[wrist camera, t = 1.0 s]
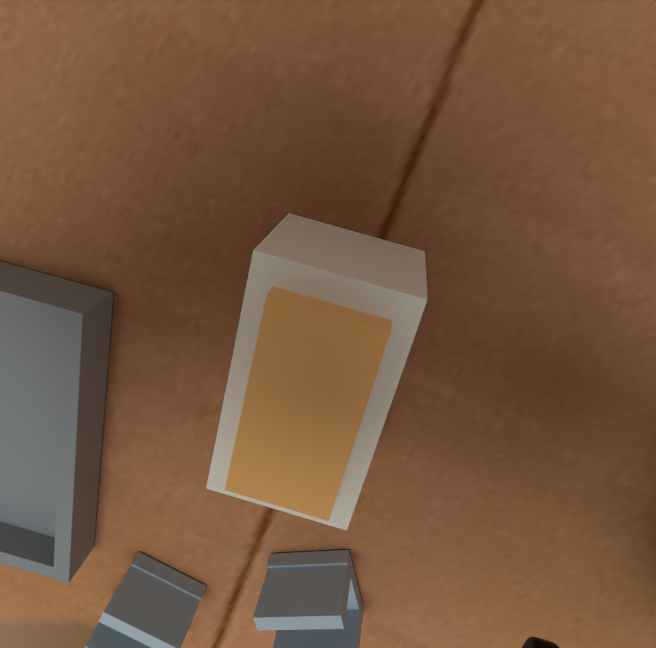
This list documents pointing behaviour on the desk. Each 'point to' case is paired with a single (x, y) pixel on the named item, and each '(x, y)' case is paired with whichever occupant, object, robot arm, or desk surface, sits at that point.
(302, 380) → the white orange block
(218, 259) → the desk surface
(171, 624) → the clip
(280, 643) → the clip
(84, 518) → the grey rectangular tray
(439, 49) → the desk surface
